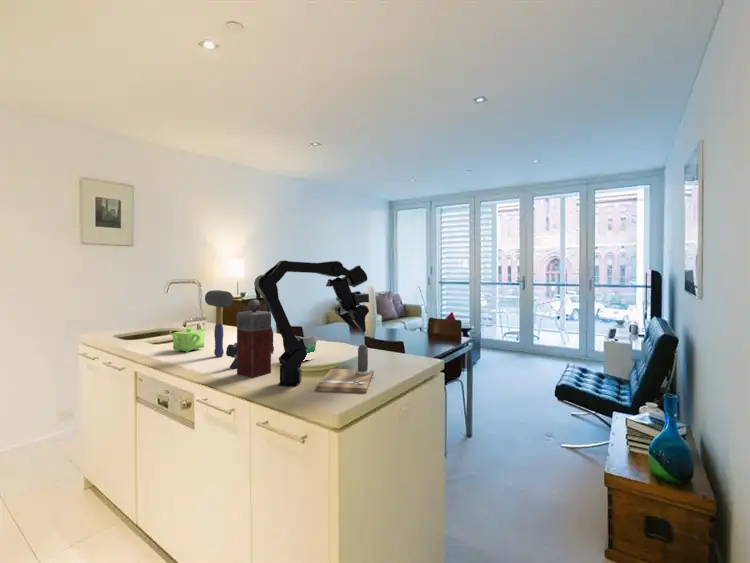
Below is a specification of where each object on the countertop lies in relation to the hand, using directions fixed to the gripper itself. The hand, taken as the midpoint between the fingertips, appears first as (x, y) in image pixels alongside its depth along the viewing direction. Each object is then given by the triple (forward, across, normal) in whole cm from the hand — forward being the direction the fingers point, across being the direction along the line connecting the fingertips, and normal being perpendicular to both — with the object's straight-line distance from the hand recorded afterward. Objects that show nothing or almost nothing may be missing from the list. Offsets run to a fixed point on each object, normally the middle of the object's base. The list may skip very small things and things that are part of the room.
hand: (359, 330), depth 147 cm
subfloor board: (+12, -7, +14) cm, 20 cm away
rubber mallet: (-3, +56, +46) cm, 73 cm away
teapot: (-8, +76, +57) cm, 96 cm away
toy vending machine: (+1, +19, +38) cm, 43 cm away
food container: (+11, +32, +17) cm, 38 cm away
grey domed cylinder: (+14, -5, +7) cm, 16 cm away
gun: (+2, +35, +37) cm, 51 cm away
